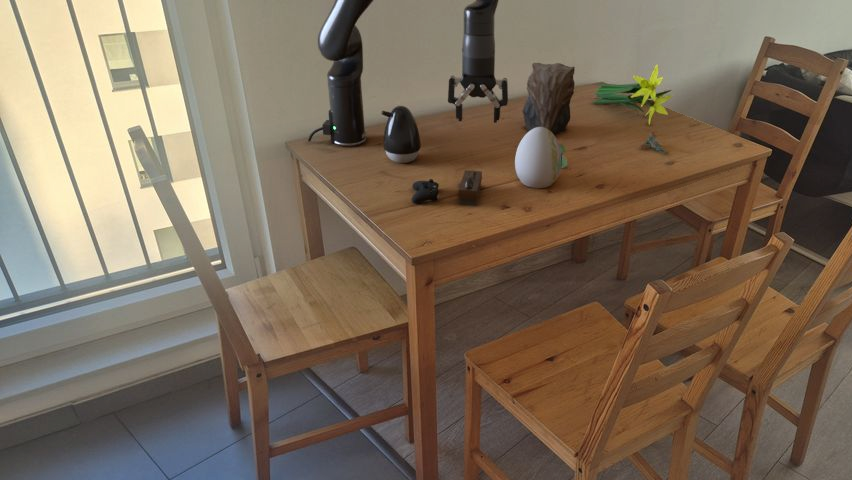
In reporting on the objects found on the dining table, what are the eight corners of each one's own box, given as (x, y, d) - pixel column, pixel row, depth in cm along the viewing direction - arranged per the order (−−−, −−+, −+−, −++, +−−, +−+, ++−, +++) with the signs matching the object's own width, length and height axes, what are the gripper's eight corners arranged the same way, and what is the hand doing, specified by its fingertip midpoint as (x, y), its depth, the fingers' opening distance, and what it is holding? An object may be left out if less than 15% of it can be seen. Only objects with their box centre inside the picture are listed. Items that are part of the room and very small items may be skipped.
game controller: (410, 184, 173) (427, 169, 171) (425, 198, 175) (442, 183, 174) (409, 201, 165) (426, 185, 163) (425, 215, 167) (442, 199, 165)
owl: (519, 126, 215) (523, 62, 204) (551, 120, 221) (556, 57, 211) (544, 139, 206) (549, 73, 196) (576, 132, 213) (582, 67, 202)
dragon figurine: (676, 145, 203) (655, 130, 205) (673, 144, 196) (651, 128, 198) (662, 163, 205) (641, 148, 207) (658, 162, 198) (637, 146, 200)
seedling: (553, 178, 194) (557, 175, 188) (532, 159, 193) (536, 155, 187) (569, 160, 195) (575, 156, 188) (549, 140, 194) (554, 136, 187)
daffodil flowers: (622, 99, 245) (696, 100, 217) (597, 127, 242) (668, 131, 213) (601, 61, 236) (674, 57, 208) (574, 89, 233) (645, 88, 204)
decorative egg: (566, 189, 176) (572, 134, 168) (522, 193, 173) (525, 137, 165) (550, 171, 186) (555, 118, 178) (508, 174, 183) (510, 121, 175)
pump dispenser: (379, 155, 191) (376, 102, 183) (414, 150, 195) (413, 98, 187) (389, 168, 183) (386, 114, 175) (425, 164, 187) (424, 110, 179)
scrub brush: (476, 206, 166) (476, 187, 163) (458, 205, 166) (458, 186, 164) (481, 186, 176) (481, 168, 173) (464, 185, 176) (464, 166, 174)
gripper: (510, 50, 159) (507, 117, 168) (449, 47, 160) (450, 114, 169) (508, 58, 153) (506, 127, 162) (445, 55, 154) (446, 124, 162)
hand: (477, 121), depth 165 cm, fingers open, 8 cm apart
